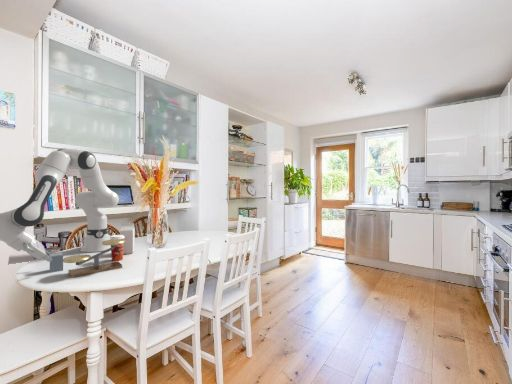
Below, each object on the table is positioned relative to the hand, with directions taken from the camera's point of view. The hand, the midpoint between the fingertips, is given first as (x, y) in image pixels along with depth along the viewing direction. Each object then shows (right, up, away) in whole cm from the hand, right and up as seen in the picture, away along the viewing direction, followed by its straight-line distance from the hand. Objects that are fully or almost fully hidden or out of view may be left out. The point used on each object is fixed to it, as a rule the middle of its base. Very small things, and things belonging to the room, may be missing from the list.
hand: (50, 258), depth 125 cm
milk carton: (+20, -6, +36) cm, 42 cm away
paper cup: (+22, -7, +21) cm, 31 cm away
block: (+2, -7, +2) cm, 7 cm away
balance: (+21, -7, +2) cm, 23 cm away
